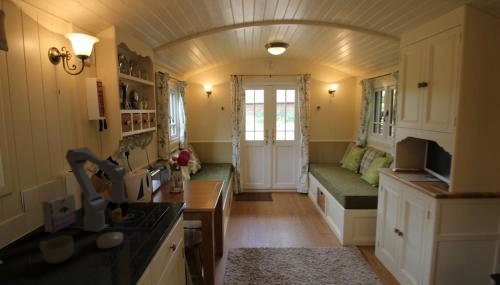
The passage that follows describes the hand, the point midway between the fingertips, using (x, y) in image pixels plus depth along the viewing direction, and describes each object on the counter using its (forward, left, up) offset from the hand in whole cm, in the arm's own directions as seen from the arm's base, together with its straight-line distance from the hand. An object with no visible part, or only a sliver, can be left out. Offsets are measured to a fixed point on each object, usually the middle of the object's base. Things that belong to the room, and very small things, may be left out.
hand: (119, 216), depth 136 cm
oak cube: (0, 0, -2) cm, 2 cm away
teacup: (-9, -28, -9) cm, 31 cm away
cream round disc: (+3, -11, -9) cm, 14 cm away
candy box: (-35, -2, -9) cm, 36 cm away
